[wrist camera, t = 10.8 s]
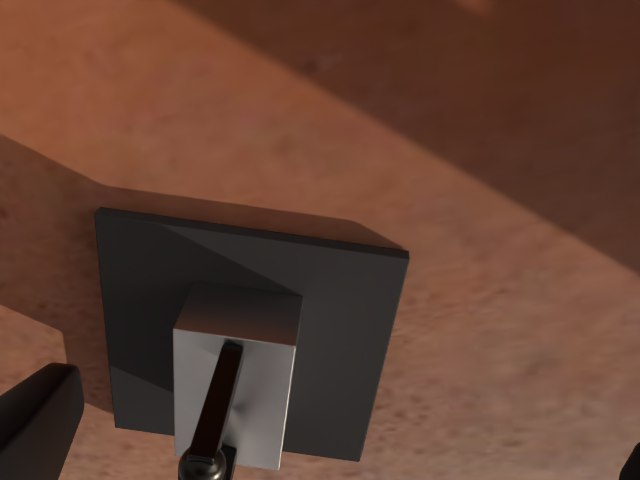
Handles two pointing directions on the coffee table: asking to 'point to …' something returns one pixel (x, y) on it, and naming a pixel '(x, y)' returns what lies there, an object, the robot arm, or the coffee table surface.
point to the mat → (255, 273)
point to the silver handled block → (232, 378)
